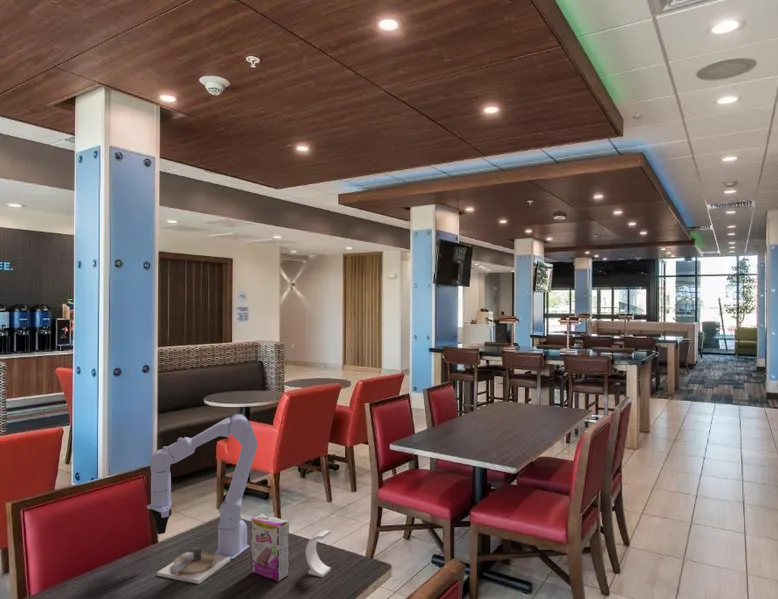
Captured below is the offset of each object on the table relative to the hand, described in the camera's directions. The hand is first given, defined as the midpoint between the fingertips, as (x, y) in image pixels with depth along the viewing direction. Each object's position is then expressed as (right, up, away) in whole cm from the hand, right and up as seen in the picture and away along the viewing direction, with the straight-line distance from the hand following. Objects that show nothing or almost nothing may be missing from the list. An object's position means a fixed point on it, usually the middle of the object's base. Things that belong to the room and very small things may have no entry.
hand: (161, 533), depth 167 cm
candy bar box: (+36, -9, -7) cm, 38 cm away
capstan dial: (+11, -8, -6) cm, 15 cm away
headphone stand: (+50, -9, -6) cm, 51 cm away
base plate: (+12, -9, -3) cm, 15 cm away
